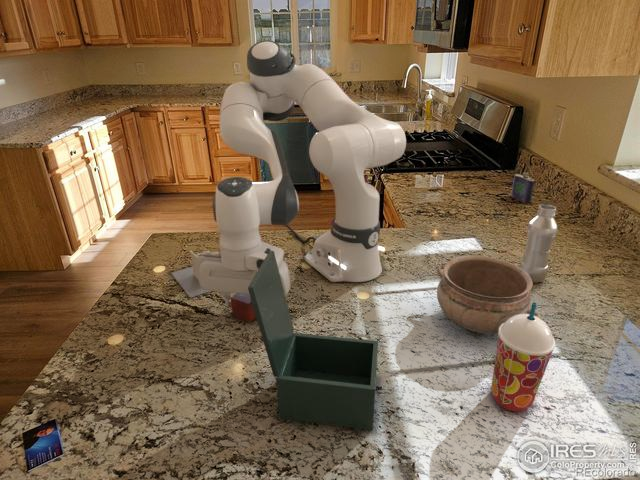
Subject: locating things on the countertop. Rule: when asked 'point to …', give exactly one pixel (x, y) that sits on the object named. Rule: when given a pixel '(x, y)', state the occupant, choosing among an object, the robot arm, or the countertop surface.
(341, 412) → the bin
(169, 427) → the countertop surface
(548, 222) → the plastic bottle
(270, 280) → the bin lid
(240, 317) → the block
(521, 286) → the cooking pot
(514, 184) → the flask
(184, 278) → the architectural model
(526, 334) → the smoothie
